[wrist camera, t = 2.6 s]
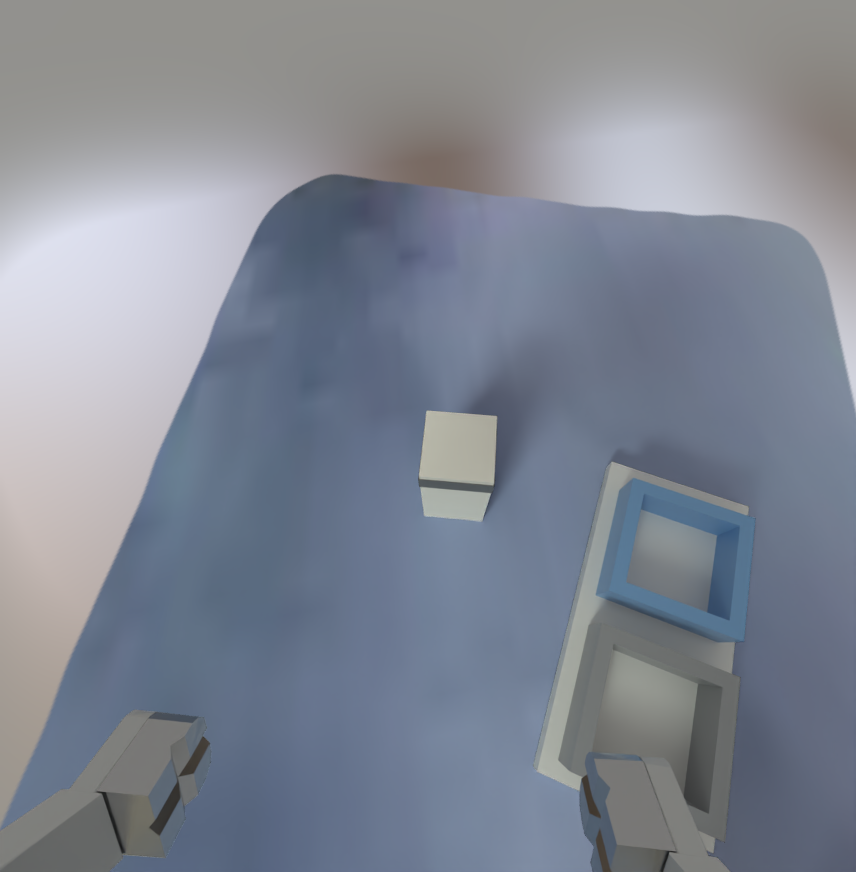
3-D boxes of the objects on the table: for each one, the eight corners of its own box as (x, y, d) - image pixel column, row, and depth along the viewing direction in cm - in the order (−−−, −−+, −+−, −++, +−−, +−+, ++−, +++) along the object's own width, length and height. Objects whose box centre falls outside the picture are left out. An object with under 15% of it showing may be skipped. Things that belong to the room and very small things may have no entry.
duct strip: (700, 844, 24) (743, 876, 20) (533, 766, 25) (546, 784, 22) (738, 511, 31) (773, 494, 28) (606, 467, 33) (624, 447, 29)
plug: (482, 522, 31) (495, 483, 24) (423, 516, 31) (418, 477, 24) (485, 466, 33) (498, 415, 26) (429, 461, 33) (425, 409, 26)
